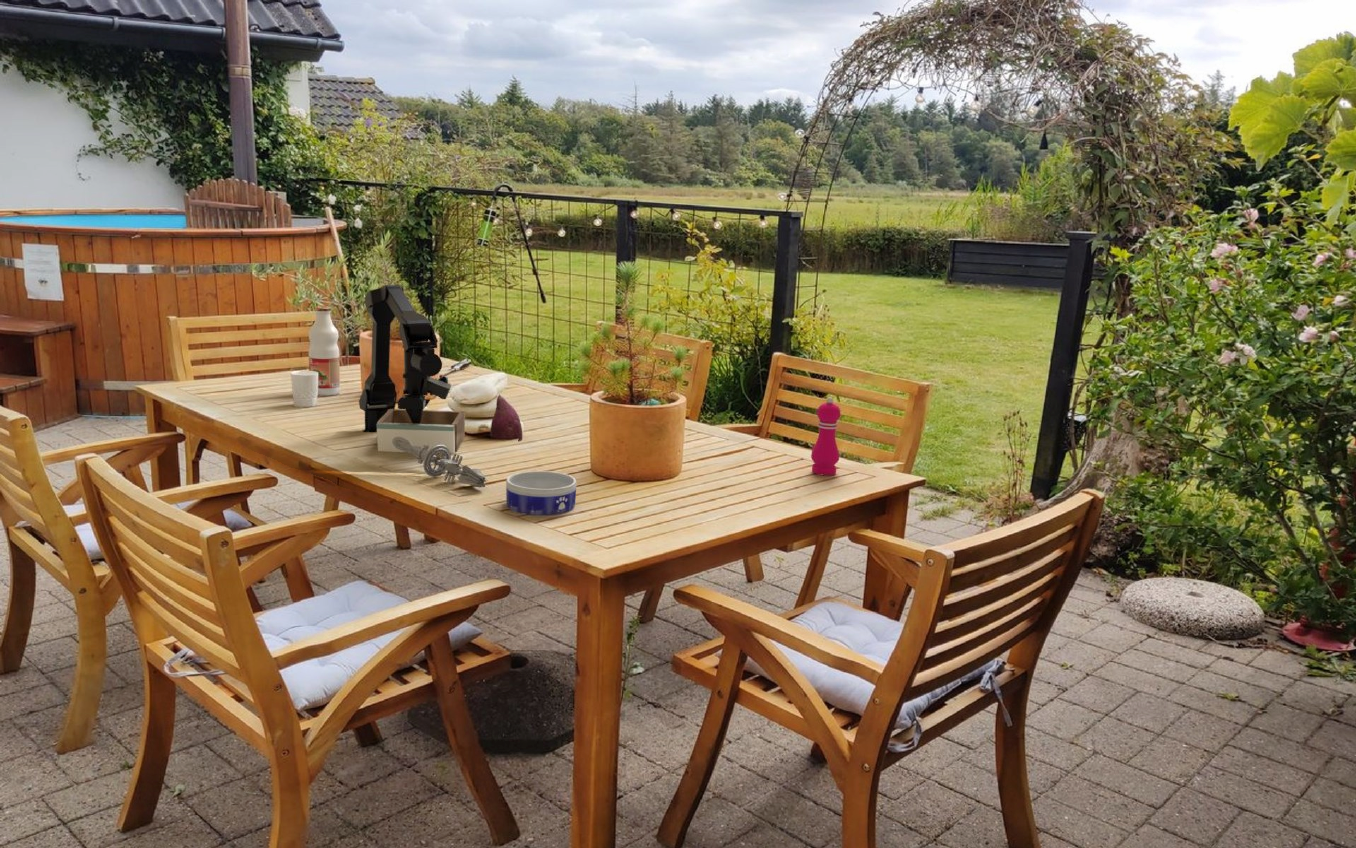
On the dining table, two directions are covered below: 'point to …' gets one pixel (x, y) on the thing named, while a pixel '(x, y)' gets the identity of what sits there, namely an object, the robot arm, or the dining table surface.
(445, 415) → the crate
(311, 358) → the fruit juice
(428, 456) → the spaceship
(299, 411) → the dining table surface
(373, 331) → the robot arm
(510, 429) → the vegetable
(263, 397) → the dining table surface
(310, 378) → the white cup
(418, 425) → the tailgate
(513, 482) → the dog bowl
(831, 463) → the pepper mill
